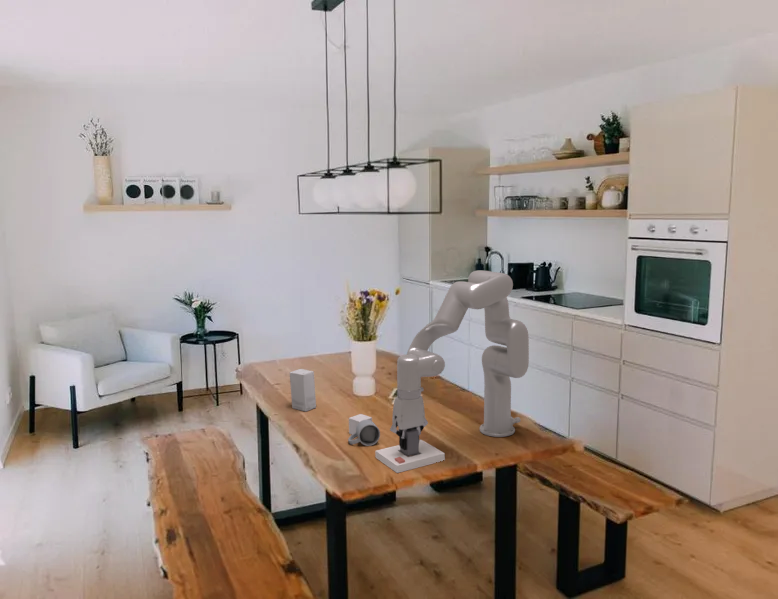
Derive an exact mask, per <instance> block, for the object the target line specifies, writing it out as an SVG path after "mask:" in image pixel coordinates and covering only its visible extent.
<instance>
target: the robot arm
mask: <svg viewBox="0 0 778 599" xmlns="http://www.w3.org/2000/svg"><path fill="white" fill-rule="evenodd" d="M467 278H468V279H467V280H468V281H463V280H462V281H455V282H453V283H451V285H450V287H449V289H448V290H447V293H446V295H445V297H444V298H443V301H442V303H441V305H440V307H439V309H438V311H437V312H436V314H435V316H434V318H433V320H431V321H430V322H429V323H428V324H426V325H425V326H424V327H423V328H422V329H420V330H419V332H418V333H416V335H415V336H414V337H413V339H412V341H411V344H410V345H409V347H408V350H407V352H406V354H403V355H400V356H398V357H397V360H396V361H397V362H396V365H397V366H396V369H397V370H396V373H397V374H396V376H397V377H396V378H397V380H396V382H397V383H396V384H397V391H396V392H397V394H396V395H397V396H396V397H395V398H394V402H393V408H392V421H391V422H392V424H391V426H390V428H389V431H390V432H392V433H394V434H395V435H396V436H398V437H399V438H398V439H399V440H398V441H399V442H398V443H399V444H398V445H400V448H402V449H403V450H406V449H407V444H406V438H405V434H406V429H410V428H415V429H417V430H419V436H421V434H422V432H423V430H424V429H425V428H426V426H428V425H429V422H428V420H427V418H426V416H425V415H426V413H425V404H424V398H423V396H422V392H424V390H425V389H424V387H423V386H421V385H422V384H421V383H422V381H421V380H422V379H421V378H424V377H437V376H439V375H440V374H442V373H443V371H444V369H445V367H446V362H445V360H444V358H443V357H442V356H441V355H440V354H438V353H435V352H433V351H429V349H430V347H431V346H432V344H433V343H434V342H436V341H437V340H439V339H441V338H442V337H445V336H448V335H450V334H453V333H455V332H457V331H458V330H459V328H460V327H461V324H462V322H463V319H464V317H465V316H466V314H467V311H468V309H472V310H482V309H483V310H484V332H485V333H484V334H485V337H486V339H487V340H488V341H490V342H491V343H494V345H490V346H488V347H486V348H485V349H484V350H483V352H482V355H481V365H482V366H481V367H482V369H483V380H484V382H483V384H484V390H483V392H484V394H483V395H484V397H483V399H484V402H483V403H484V404H483V423H482V424H480V426H479V432H480V433H481V434H484V435H485V436H487V437H488V436H489V437H495V438H503V437H510V436H512V435H514V433H515V432H516V429H515V426H513V425H515V424H518V423H520V422H521V417H520V416H516V417H513V416H512V415H511V412H512V409H511V408H512V382H511V379H510V378H513V379H519V378H522V377H524V376H525V375H526V373H527V372H528V369H529V362H530V352H529V351H530V350H529V349H530V346H529V344H530V342H529V331H528V327H527V326H526V325H525V324H524V322H522V321H521V320H518V319H515V318H513V319H512V318H511V317H510V316H511V315H510V306H509V301H508V296H509V295H510V294H511V292H512V290H513V286H514V283H513V279H512V278H511V276H510V275H508V274H506V273H503V272H498V271H491V270H474V271H472V272H470V274H469V275H468V277H467ZM495 344H498V345H495Z"/></svg>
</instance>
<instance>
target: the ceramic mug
mask: <svg viewBox="0 0 778 599" xmlns="http://www.w3.org/2000/svg"><path fill="white" fill-rule="evenodd" d="M357 436H358V437H357ZM380 438H381V431H380V429H379V427H378V426H377V425H376V424H375V423H374V421H373V420H372V421H370V420H362V421H360V422H359V423H358V425H357V427H356V433H354V434H353V435H352V434H350V436H349V437H348V439H347V440H348V444H349V445H356V444H358V443H361V445H363V446H367V447H370V446H374V445H376V444H377V443H378V442H379V440H380Z"/></svg>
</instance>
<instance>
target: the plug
mask: <svg viewBox="0 0 778 599" xmlns="http://www.w3.org/2000/svg"><path fill="white" fill-rule="evenodd" d="M405 438H406V444H407V449H406V450H403V449H402V448H400V451H401V452H402V453H404V454H405V456H407V457H411V456H414V455H416V454H419V440H420V435H419V430H417V429H415V428H410V429H406V434H405Z"/></svg>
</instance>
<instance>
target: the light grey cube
mask: <svg viewBox="0 0 778 599" xmlns="http://www.w3.org/2000/svg"><path fill="white" fill-rule="evenodd" d="M362 420H370V421H372V422H373V417H372V416H368V415H366V414H363V413H359V414H357V415H354V416H351V417H348V434H349V435H353V434H354V433H356V427H357V425H358V423H359V422H360V421H362ZM356 438H358V436H357V437H356Z"/></svg>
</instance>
